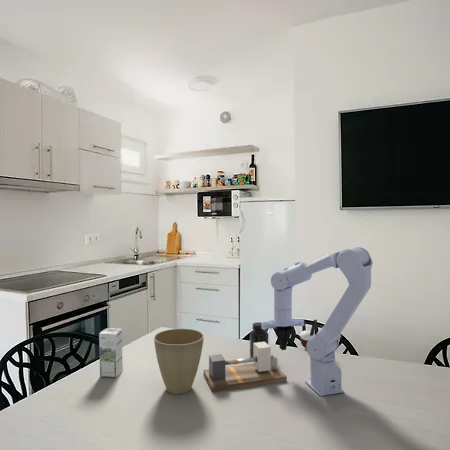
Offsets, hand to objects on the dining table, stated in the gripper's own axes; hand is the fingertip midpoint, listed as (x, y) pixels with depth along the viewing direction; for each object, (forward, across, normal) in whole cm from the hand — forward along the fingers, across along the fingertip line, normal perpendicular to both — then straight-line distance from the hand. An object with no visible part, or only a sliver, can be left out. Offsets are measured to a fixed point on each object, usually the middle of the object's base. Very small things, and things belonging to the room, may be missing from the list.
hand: (282, 348), depth 118 cm
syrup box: (+8, +54, -15) cm, 57 cm away
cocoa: (+8, -20, -18) cm, 28 cm away
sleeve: (+5, +7, 0) cm, 9 cm away
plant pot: (+8, +34, +1) cm, 35 cm away
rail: (+6, +13, 0) cm, 14 cm away
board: (+8, +14, 0) cm, 16 cm away
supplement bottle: (+8, +2, -15) cm, 17 cm away
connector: (+6, +23, 0) cm, 23 cm away
